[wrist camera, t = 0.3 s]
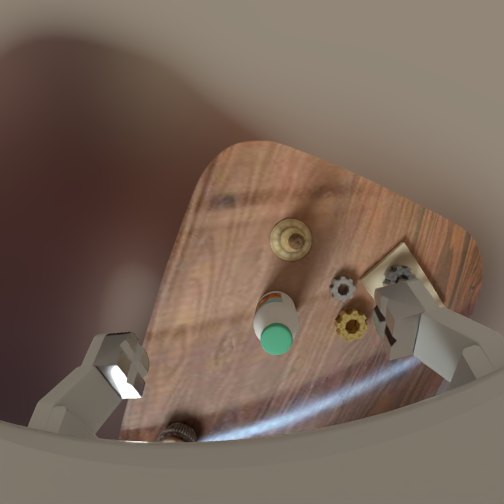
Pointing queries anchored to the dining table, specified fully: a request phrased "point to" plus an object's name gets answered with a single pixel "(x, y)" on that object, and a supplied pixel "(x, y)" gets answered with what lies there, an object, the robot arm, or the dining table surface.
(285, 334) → the milk bottle
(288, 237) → the hand bell
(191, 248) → the dining table surface
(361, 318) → the brass gear
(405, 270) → the steel gear
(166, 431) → the cupcake
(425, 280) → the gear board
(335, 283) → the zinc gear
